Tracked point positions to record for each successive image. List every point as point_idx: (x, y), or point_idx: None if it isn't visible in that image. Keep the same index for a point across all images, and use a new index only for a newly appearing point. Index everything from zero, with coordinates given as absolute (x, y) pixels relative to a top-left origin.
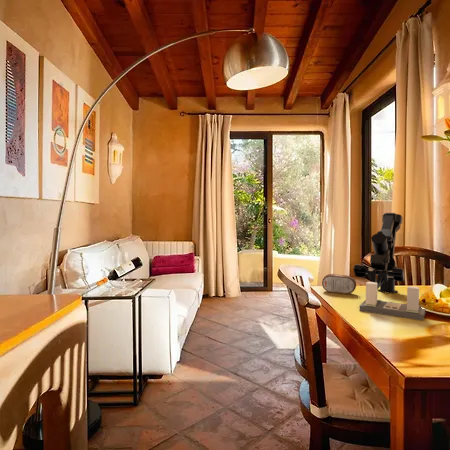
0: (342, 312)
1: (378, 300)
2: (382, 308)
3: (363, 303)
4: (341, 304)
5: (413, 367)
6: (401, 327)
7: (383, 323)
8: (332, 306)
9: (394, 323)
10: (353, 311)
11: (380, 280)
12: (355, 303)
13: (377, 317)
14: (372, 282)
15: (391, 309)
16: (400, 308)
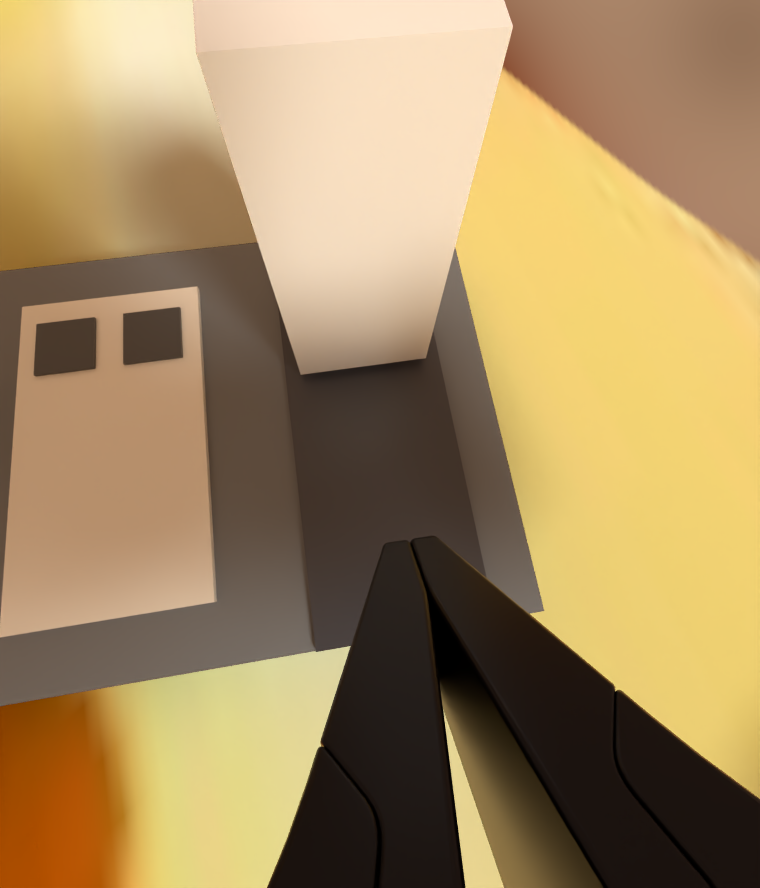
0: (525, 129)
1: (353, 610)
2: (200, 265)
3: (456, 328)
4: (699, 362)
5: None
6: (10, 64)
7: (149, 71)
8: (705, 236)
9: (71, 115)
10: (471, 210)
11: (284, 845)
12: (622, 520)
13: (229, 176)
14: (343, 5)
15: (101, 289)
16: (4, 401)
